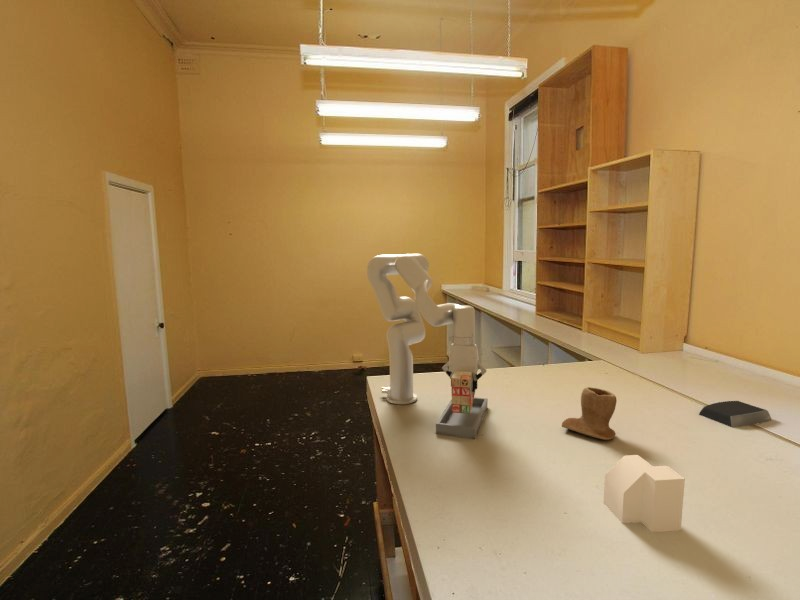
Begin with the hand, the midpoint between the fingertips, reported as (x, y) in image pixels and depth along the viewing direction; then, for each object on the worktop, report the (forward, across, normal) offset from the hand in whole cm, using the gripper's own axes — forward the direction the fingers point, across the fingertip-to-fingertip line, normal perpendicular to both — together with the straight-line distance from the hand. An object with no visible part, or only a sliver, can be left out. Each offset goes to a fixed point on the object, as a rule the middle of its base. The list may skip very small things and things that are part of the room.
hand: (464, 389), depth 148 cm
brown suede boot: (+12, +42, +3) cm, 44 cm away
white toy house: (+12, +49, -40) cm, 64 cm away
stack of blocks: (+5, 0, 0) cm, 5 cm away
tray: (+11, 0, 0) cm, 11 cm away
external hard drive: (+13, +91, +32) cm, 98 cm away
